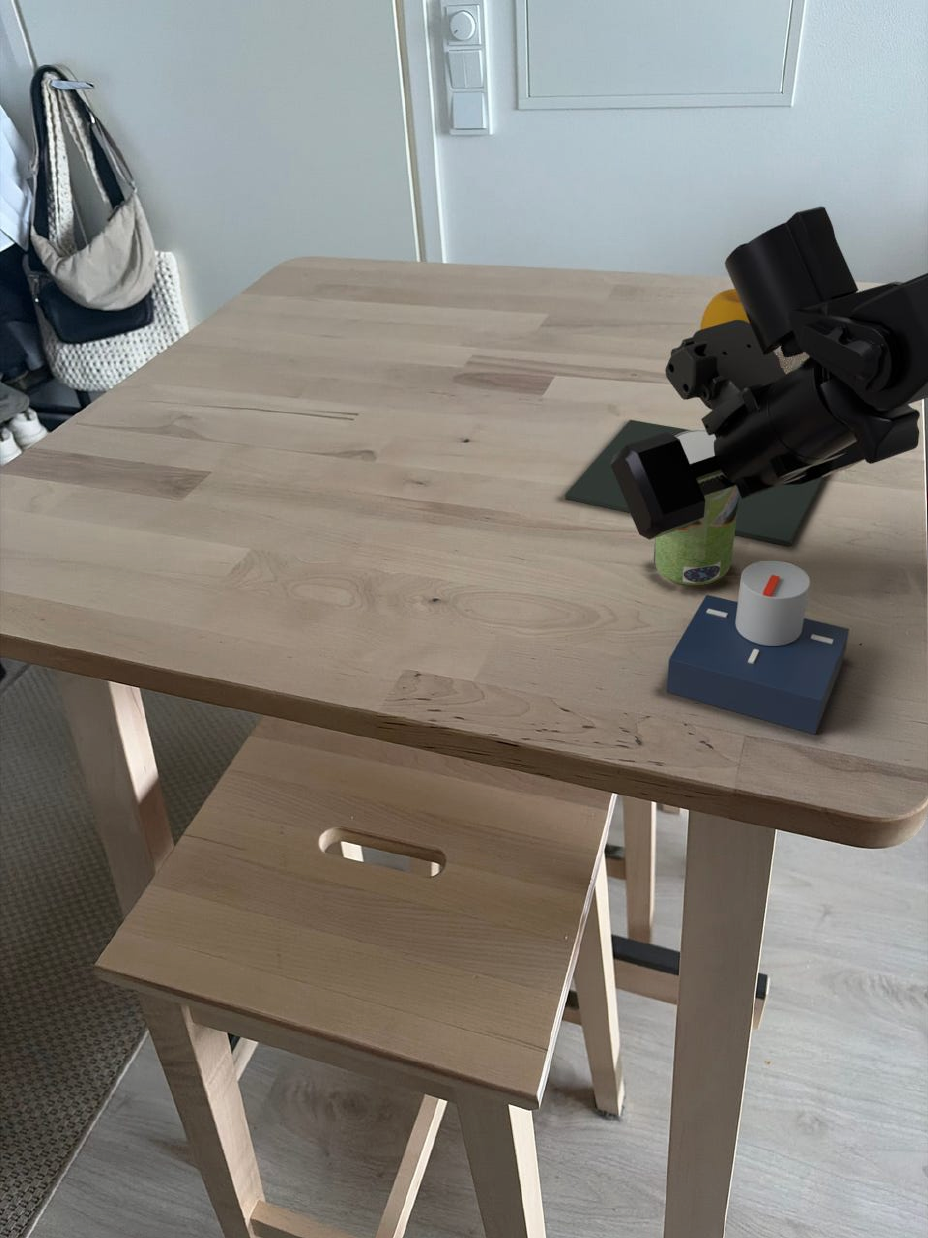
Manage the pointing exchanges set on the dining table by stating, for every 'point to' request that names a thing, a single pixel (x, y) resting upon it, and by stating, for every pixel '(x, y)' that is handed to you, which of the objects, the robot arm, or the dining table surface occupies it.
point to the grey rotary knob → (772, 602)
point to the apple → (723, 309)
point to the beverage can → (700, 528)
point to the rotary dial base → (757, 668)
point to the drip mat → (756, 515)
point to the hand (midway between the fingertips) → (685, 494)
